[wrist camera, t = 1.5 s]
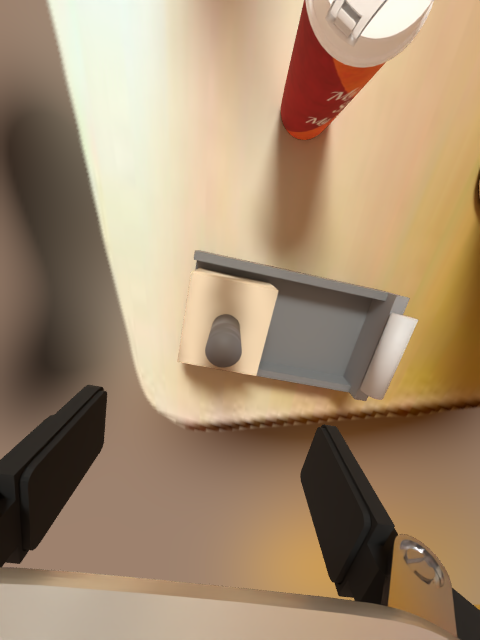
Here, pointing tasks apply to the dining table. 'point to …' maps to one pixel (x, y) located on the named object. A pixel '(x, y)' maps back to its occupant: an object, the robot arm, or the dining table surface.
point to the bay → (326, 329)
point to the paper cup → (342, 55)
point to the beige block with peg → (226, 321)
